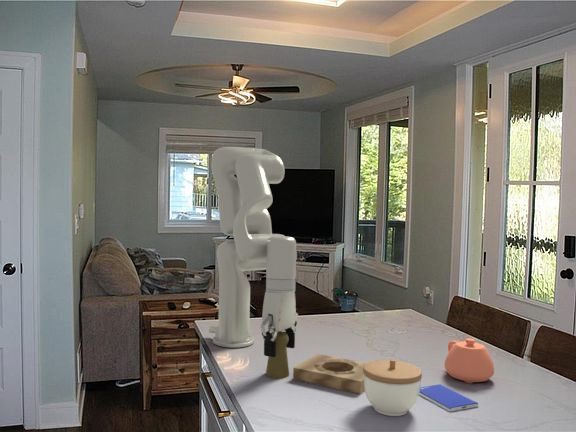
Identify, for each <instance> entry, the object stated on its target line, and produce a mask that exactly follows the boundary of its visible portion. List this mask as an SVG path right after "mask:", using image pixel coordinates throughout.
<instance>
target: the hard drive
mask: <svg viewBox="0 0 576 432" xmlns="http://www.w3.org/2000/svg"><path fill="white" fill-rule="evenodd" d="M419 396H421V397H423V398H424V399H426V400H428V401H430V402H432V403H434V404H436V405H437V406H439V407H441V408H443V409H445V410H446V411H447V412H456V411H462V410H466V409H472V408H478V407H479V402H477V401H475V400H472V399H471V398H469V397H466V396H465V395H463V394H461V393H459V392H457V391H455V390H453V389H451V388H449V387H448V386H446V385H443V384H433V385H427V386H421V387H420V393H419Z"/></svg>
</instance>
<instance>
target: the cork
mask: <svg viewBox="0 0 576 432" xmlns="http://www.w3.org/2000/svg"><path fill="white" fill-rule="evenodd" d="M285 332H286V331H285ZM285 332H284V331H280V332H277V335H276V338H275V340H274V341H276V357H269V356H267V364H266V370H265V376H266V377H268V378H271V379H286V378H287V376H288V377H289V376H290V369H289V359H288V358H289V357H288V350H287V347H286V345H287V343H288V341H289V337H288V335H287V333H285ZM270 333H271V335H272V334H273V332H270Z"/></svg>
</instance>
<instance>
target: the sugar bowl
mask: <svg viewBox="0 0 576 432" xmlns="http://www.w3.org/2000/svg"><path fill="white" fill-rule="evenodd" d="M447 349H448V351H447V355H446V358H445V361H444V369H445V371H446V372H447V373H448V374H449V376H450V377H452V378H455V379H457V380H460V381H464V383H466V384H473V383H480V382H486V381H488V380H489V379H491V378H492V377H493V376H494V373H495V364H494V361H493V359H492V357H491V355H490V352H489V351H488V349H487V348H486V346H485V345H483V344H481V343H478V342H476V339H474V338H465V340H464V341H458V340H451V341H449V342H448V345H447Z"/></svg>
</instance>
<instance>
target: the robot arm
mask: <svg viewBox="0 0 576 432" xmlns="http://www.w3.org/2000/svg"><path fill="white" fill-rule="evenodd" d="M210 165H211V173H212V177H213V180H214V183H215V187H216V191H217V197H218V199H217V201H218V213H219V227H220V230H221V232H222V234H224V235H225V236H230V237H231V236H233V239H230V240H224V241H223V242H221V243H220V244H219V245H218V246H217V250H216V260H217V267H218V277H219V279H218V280H219V281H218V282H219V283H218V285H219V286H218V323H217V324H218V325H215V324H211V325H210V327H209V328H208V332H209V333H211V334H214V337H213V338H212V344H214V346H215V345H216V346H219V347H222V348H223V347H224V348H244V347H249V346H252V345H253V344H254V343H255V338H254V336H252V335H250V312H251V311H250V310H251V309H250V308H251V306H250V305H251V284H250V281H249V279H248V278H247V277H246V276H245V275H244V272H248V271H250V272H251V271H264V270H265V271H266V273H265V278H266V279H265V292H264V297H263V305H262V313H261V314H262V316H261V324H260V330H261V336H262V340H263V355H264V356H265V357H276V341H274V340H275V338H276V335H277V332H280V331H282V332H285V333H287V335H288V337H289V341H288V343H287V345H286V348H288V349H294V348H296V345H295V343H296V341H295V340H296V332H297V328H296V327H297V325H298V322H297V321H298V317H299V313H298V312H296V311H297V307H296V305H297V304H296V303H297V302H296V293H295V292H296V282H297V281H296V279H297V278H296V277H297V272H296V271H297V270H296V269H297V241H296V239H295V237H292V236H285V235H284V234H280V233H273V230H272V229H273V228H272V219H271V215H270V213H269V211H268V208H270V207H271V206H272V204H273V194H272V190H271V188H270V184H272V185H273V184H274V185H276V184H277V185H278V184H280V183H281V182H282V181H283V180H284V178H285V173H286V171H285V165H284V162H283V160H282V159H281V157H279V155H277V154H275V153H273V152H271V151H269V150H267V149H265V148H257V147H241V146H223V147H219V148H217V149H216V150H215V151H214V152H213V154H212V156H211V164H210ZM235 175H236V176H235ZM272 332H273V334H272V335H271V333H272Z"/></svg>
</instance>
